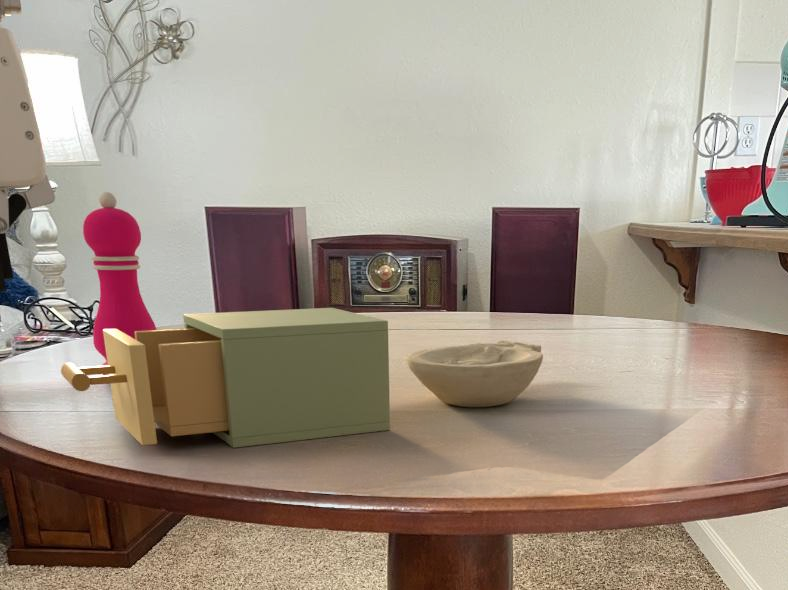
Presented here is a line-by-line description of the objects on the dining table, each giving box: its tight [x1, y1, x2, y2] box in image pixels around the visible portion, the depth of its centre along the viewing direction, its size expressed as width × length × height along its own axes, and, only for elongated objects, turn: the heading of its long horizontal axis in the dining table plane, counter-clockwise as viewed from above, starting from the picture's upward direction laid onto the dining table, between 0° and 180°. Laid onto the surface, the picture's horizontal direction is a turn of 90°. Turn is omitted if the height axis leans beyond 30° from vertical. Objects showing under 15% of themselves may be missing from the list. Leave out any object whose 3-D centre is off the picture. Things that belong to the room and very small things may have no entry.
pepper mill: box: [82, 191, 158, 375], centre depth 101 cm, size 7×7×20 cm
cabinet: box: [182, 307, 391, 449], centre depth 81 cm, size 15×13×10 cm
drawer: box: [60, 328, 229, 446], centre depth 76 cm, size 18×11×8 cm, turn 119°
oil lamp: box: [405, 340, 544, 408], centre depth 96 cm, size 21×14×5 cm
